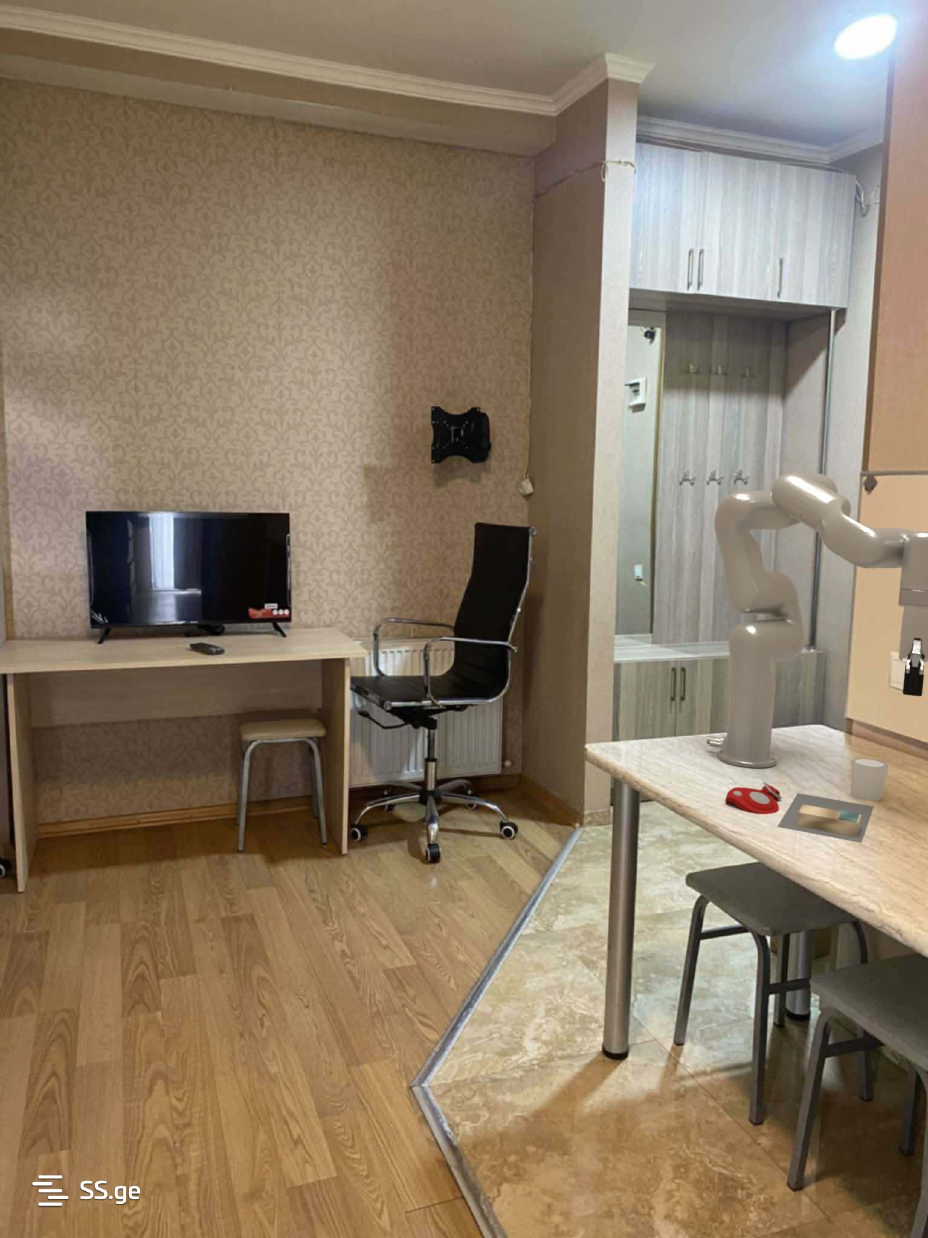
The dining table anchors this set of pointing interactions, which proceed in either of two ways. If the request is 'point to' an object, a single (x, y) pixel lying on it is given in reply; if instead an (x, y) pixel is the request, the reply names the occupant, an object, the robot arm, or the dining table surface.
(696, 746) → the dining table surface
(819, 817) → the birch tile
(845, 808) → the rubber mat
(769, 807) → the tracker holder
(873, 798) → the white cylinder
